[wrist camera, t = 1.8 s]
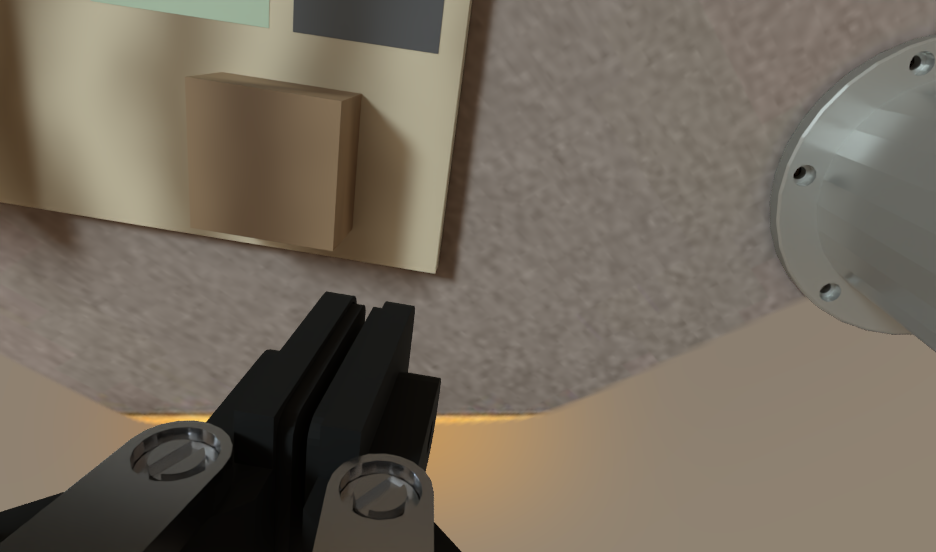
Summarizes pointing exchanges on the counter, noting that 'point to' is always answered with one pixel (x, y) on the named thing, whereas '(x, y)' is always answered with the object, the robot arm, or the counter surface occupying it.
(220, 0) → the green pad
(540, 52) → the counter surface
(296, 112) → the block
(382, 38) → the board
